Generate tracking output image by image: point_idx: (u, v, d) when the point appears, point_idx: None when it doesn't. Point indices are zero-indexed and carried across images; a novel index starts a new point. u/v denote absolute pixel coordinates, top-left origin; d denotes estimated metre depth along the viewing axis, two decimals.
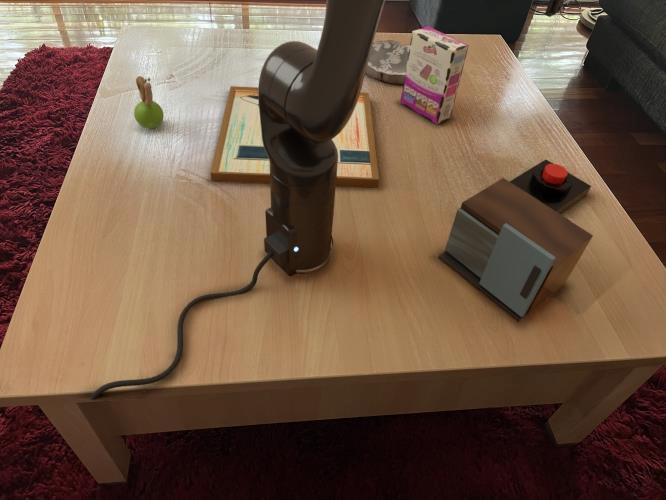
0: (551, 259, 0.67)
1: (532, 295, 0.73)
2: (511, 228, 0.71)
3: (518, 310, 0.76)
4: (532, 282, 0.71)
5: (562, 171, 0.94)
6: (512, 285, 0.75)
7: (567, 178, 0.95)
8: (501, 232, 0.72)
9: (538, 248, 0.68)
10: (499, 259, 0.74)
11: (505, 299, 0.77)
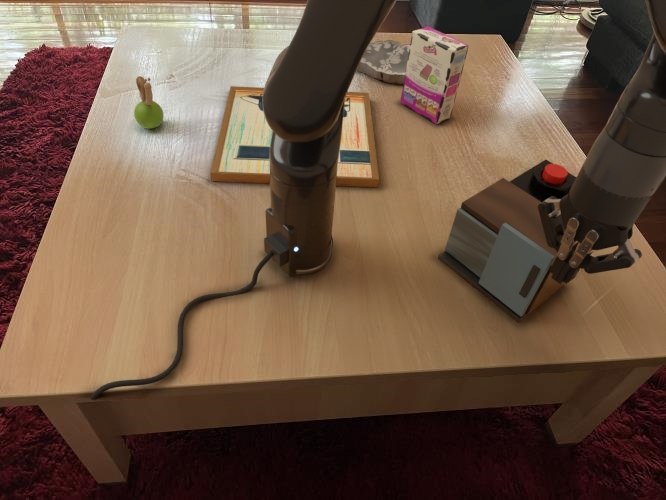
0: (550, 258, 0.67)
1: (531, 294, 0.73)
2: (510, 227, 0.71)
3: (517, 309, 0.76)
4: (531, 281, 0.71)
5: (562, 171, 0.94)
6: (512, 284, 0.75)
7: (567, 178, 0.95)
8: (501, 231, 0.72)
9: (537, 247, 0.69)
10: (499, 258, 0.74)
11: (504, 298, 0.77)
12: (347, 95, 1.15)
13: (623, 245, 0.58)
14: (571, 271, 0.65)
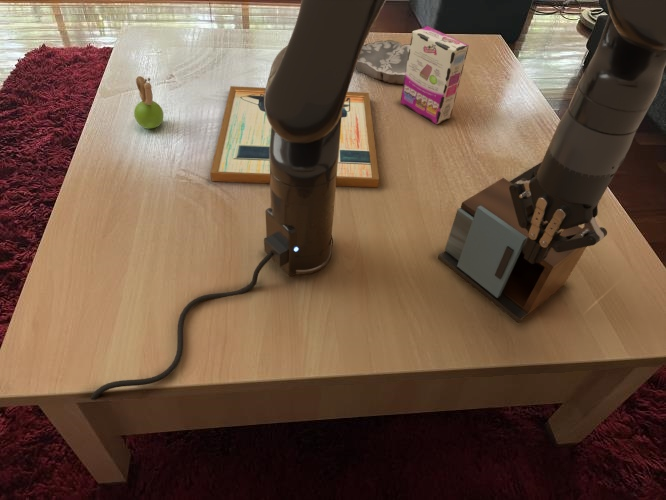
0: (523, 239, 0.70)
1: (506, 275, 0.75)
2: (485, 210, 0.73)
3: (494, 291, 0.78)
4: (506, 262, 0.73)
5: None
6: (488, 266, 0.77)
7: None
8: (476, 214, 0.74)
9: (511, 229, 0.71)
10: (475, 241, 0.77)
11: (481, 280, 0.79)
12: (347, 95, 1.15)
13: (589, 223, 0.61)
14: (542, 251, 0.67)
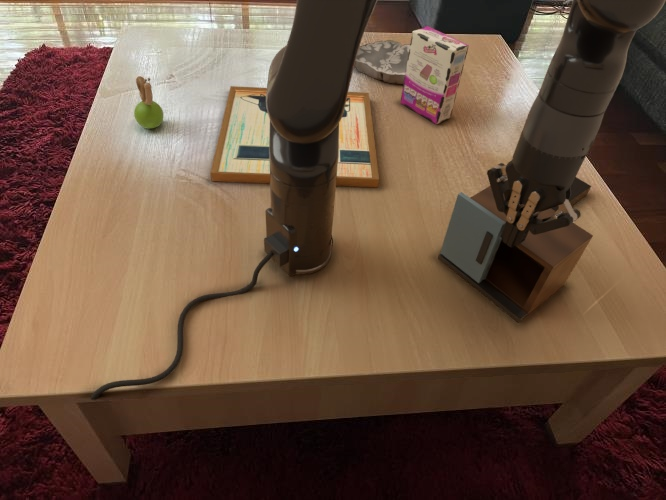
0: (501, 224, 0.71)
1: (486, 261, 0.77)
2: (465, 196, 0.75)
3: (475, 276, 0.80)
4: (486, 248, 0.75)
5: None
6: (469, 252, 0.79)
7: None
8: (457, 201, 0.76)
9: (490, 214, 0.72)
10: (457, 227, 0.78)
11: (463, 266, 0.81)
12: (347, 95, 1.15)
13: (562, 205, 0.62)
14: (519, 234, 0.69)
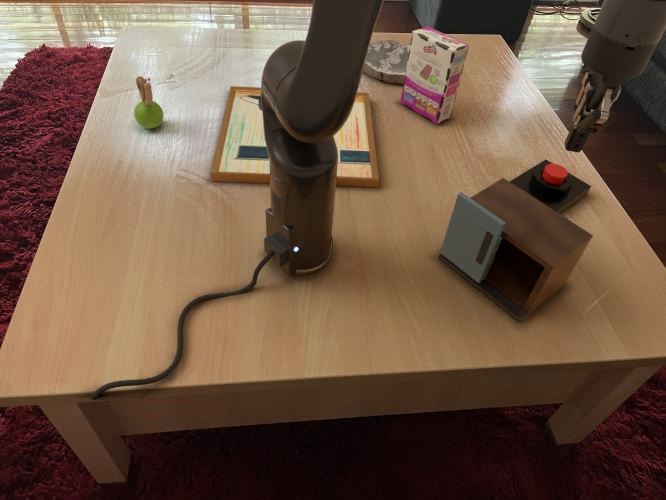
0: (501, 224, 0.71)
1: (486, 261, 0.77)
2: (465, 196, 0.75)
3: (475, 276, 0.80)
4: (486, 248, 0.75)
5: (562, 171, 0.94)
6: (469, 252, 0.79)
7: (567, 178, 0.95)
8: (457, 201, 0.76)
9: (490, 214, 0.72)
10: (457, 227, 0.78)
11: (463, 266, 0.81)
12: None
13: (602, 100, 0.65)
14: (574, 135, 0.72)
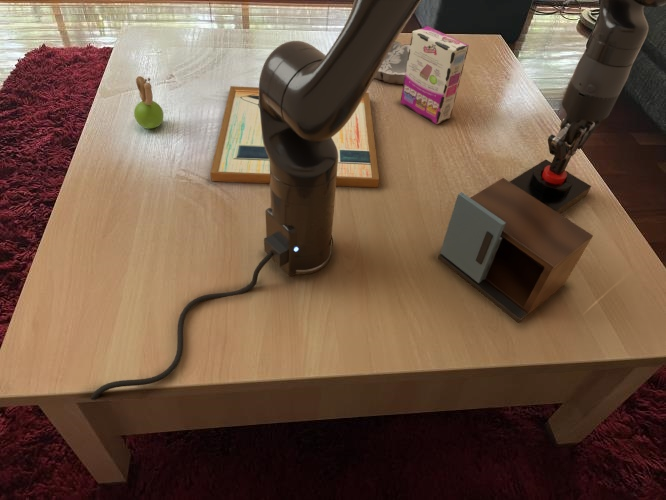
0: (501, 224, 0.71)
1: (486, 261, 0.77)
2: (465, 196, 0.75)
3: (475, 276, 0.80)
4: (486, 248, 0.75)
5: None
6: (469, 252, 0.79)
7: (567, 178, 0.95)
8: (457, 201, 0.76)
9: (490, 214, 0.72)
10: (457, 227, 0.78)
11: (463, 266, 0.81)
12: None
13: (561, 130, 0.86)
14: (554, 159, 0.92)
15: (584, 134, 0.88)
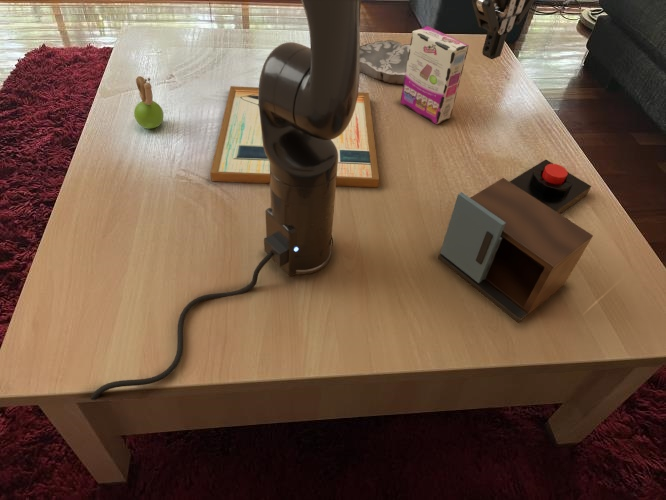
0: (501, 224, 0.71)
1: (486, 261, 0.77)
2: (465, 196, 0.75)
3: (475, 276, 0.80)
4: (486, 248, 0.75)
5: (562, 171, 0.94)
6: (469, 252, 0.79)
7: (567, 178, 0.95)
8: (457, 201, 0.76)
9: (490, 214, 0.72)
10: (457, 227, 0.78)
11: (463, 266, 0.81)
12: None
13: None
14: None
15: None
